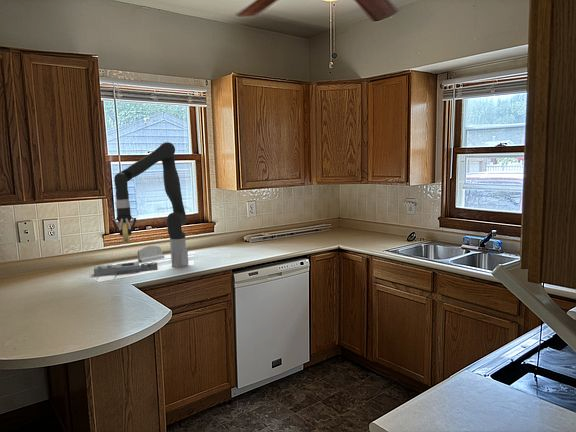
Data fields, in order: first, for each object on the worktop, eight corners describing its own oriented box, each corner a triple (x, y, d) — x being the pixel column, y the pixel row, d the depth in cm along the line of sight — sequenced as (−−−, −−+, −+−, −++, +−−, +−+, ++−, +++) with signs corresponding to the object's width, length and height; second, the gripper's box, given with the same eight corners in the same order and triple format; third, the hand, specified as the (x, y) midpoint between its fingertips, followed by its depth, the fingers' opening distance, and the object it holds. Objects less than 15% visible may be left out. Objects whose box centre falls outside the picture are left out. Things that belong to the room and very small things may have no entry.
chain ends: (157, 266, 269) (156, 258, 268) (158, 269, 259) (157, 261, 258) (95, 272, 257) (94, 264, 256) (94, 277, 247) (93, 268, 247)
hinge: (141, 262, 280) (138, 247, 281) (138, 263, 283) (135, 249, 285) (165, 257, 292) (161, 243, 293) (162, 259, 295) (158, 245, 296)
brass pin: (131, 241, 259) (129, 221, 258) (126, 242, 256) (124, 222, 254) (126, 241, 261) (124, 221, 259) (121, 242, 257) (119, 222, 256)
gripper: (136, 205, 261) (138, 233, 263) (110, 207, 257) (113, 235, 259) (136, 206, 254) (138, 235, 256) (109, 208, 250) (112, 237, 252)
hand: (125, 235), depth 258 cm, fingers closed on brass pin, 4 cm apart
